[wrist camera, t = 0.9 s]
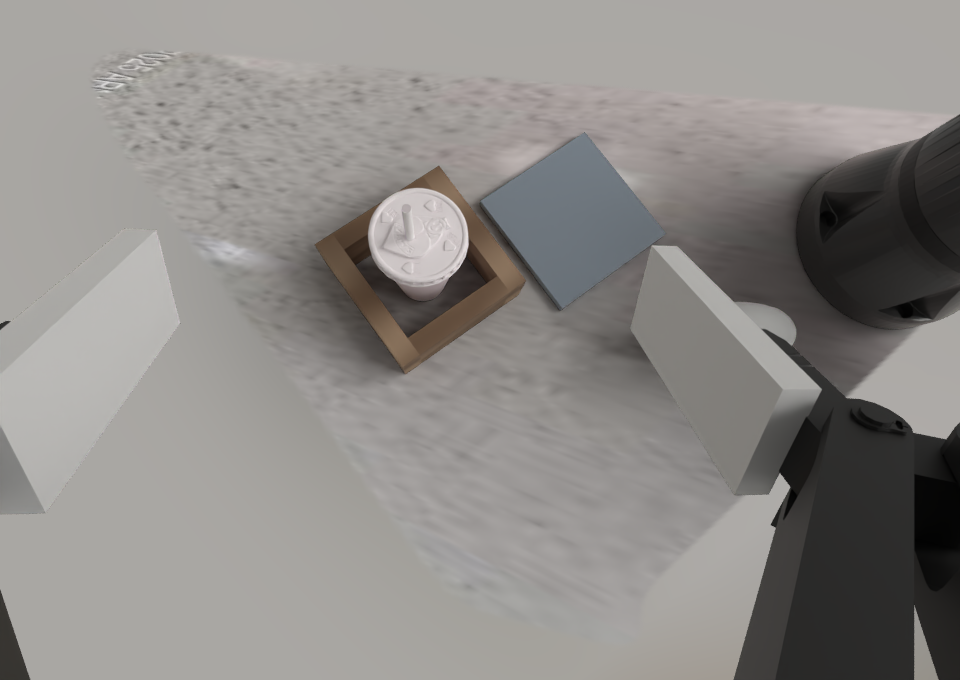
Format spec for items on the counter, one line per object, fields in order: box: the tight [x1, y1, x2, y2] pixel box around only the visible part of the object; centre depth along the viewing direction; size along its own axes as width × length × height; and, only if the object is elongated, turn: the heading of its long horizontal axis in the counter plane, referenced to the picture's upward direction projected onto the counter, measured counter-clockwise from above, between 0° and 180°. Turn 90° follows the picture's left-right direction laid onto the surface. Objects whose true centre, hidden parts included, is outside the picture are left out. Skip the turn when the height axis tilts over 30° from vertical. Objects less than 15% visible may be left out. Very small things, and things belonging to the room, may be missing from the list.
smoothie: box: [368, 188, 469, 301], centre depth 37 cm, size 6×6×14 cm
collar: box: [315, 166, 526, 374], centre depth 42 cm, size 11×11×4 cm
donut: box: [734, 302, 796, 346], centre depth 40 cm, size 10×4×10 cm, turn 88°
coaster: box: [480, 132, 666, 310], centre depth 45 cm, size 11×11×1 cm
